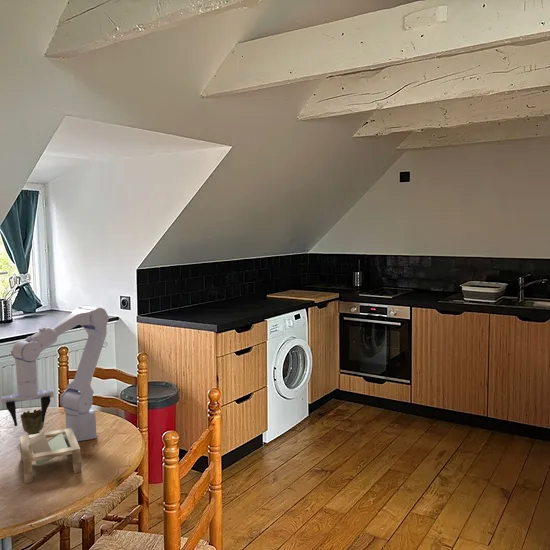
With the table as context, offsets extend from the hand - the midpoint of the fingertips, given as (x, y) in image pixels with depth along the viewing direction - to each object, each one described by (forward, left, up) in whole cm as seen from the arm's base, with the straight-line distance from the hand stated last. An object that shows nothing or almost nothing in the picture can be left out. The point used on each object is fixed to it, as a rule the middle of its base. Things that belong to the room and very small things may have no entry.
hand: (29, 423), depth 174 cm
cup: (-2, -16, -11) cm, 19 cm away
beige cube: (-3, +10, -6) cm, 12 cm away
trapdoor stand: (-4, +10, -10) cm, 15 cm away
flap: (-6, +10, -8) cm, 14 cm away
